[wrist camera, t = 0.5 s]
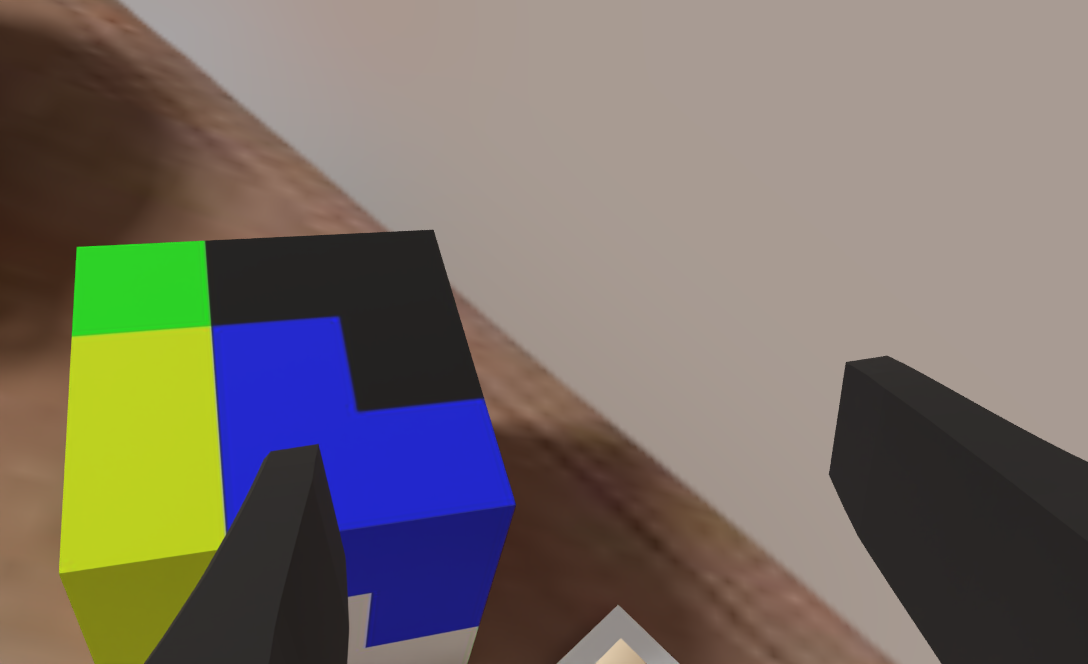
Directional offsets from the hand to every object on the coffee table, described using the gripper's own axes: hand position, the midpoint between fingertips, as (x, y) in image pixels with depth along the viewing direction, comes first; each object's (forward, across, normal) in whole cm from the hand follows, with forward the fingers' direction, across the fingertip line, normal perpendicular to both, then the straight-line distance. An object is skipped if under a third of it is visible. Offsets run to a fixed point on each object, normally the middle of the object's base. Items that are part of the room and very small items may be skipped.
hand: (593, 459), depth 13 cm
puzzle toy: (+14, +8, +15) cm, 22 cm away
